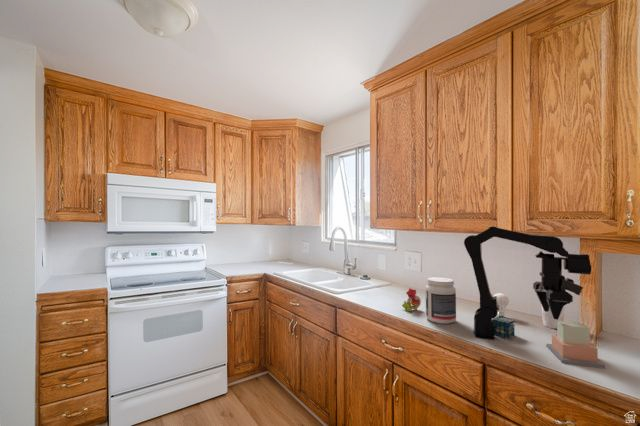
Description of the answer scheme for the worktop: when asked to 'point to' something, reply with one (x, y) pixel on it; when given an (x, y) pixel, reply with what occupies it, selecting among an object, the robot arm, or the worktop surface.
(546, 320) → the white cup
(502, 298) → the light bulb
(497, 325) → the puzzle
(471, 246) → the robot arm
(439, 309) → the supplement tub
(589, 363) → the brick base
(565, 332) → the sage brick
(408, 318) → the worktop surface
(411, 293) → the bird rattle
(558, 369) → the worktop surface
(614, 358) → the worktop surface
